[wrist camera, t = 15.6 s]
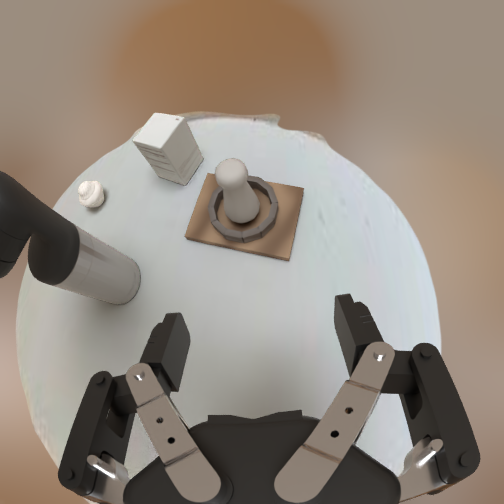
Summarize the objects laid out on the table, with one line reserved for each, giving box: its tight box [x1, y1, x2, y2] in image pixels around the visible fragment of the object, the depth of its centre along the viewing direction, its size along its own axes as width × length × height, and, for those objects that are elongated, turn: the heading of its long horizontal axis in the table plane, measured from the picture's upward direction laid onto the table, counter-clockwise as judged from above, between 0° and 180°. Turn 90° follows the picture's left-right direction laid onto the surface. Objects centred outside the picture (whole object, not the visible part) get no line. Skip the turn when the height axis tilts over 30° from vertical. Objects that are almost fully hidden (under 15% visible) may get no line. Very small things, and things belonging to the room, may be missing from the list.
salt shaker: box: [215, 158, 260, 224], centre depth 40 cm, size 6×6×13 cm
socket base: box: [185, 173, 304, 261], centre depth 45 cm, size 18×13×4 cm
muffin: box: [78, 181, 104, 207], centre depth 50 cm, size 6×6×7 cm
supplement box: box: [132, 113, 203, 186], centre depth 46 cm, size 7×7×13 cm
